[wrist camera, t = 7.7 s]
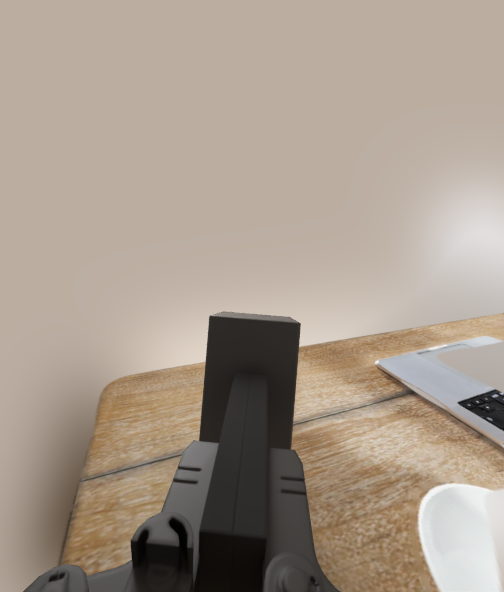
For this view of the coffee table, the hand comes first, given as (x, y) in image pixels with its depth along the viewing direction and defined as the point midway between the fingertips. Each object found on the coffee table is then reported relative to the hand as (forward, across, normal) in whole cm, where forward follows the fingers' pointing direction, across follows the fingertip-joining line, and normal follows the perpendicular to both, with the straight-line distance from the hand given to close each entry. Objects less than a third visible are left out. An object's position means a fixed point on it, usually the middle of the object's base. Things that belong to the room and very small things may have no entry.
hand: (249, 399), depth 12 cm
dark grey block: (+1, 0, -9) cm, 9 cm away
